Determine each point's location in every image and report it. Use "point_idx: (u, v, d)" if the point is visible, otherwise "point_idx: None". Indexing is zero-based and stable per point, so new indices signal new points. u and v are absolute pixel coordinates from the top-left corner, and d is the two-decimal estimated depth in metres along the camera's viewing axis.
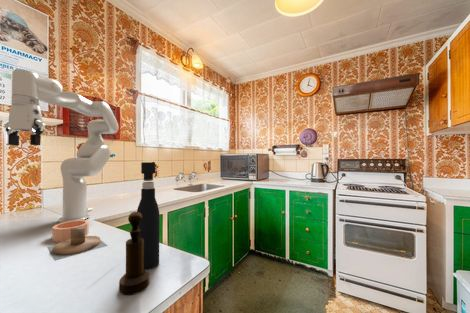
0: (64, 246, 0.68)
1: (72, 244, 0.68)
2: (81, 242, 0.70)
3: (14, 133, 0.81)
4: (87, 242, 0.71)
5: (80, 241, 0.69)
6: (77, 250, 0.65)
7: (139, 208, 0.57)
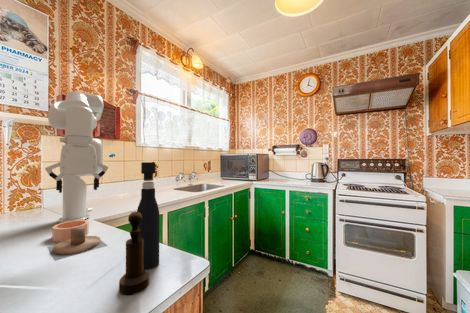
0: (64, 246, 0.68)
1: (72, 244, 0.68)
2: (81, 242, 0.70)
3: None
4: (87, 242, 0.71)
5: (80, 241, 0.69)
6: (77, 250, 0.65)
7: (139, 208, 0.57)
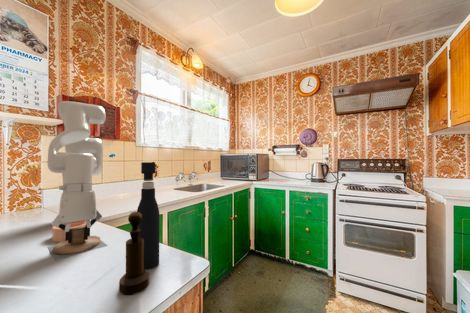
0: (64, 245, 0.68)
1: (72, 244, 0.68)
2: (81, 242, 0.70)
3: (87, 224, 0.72)
4: (87, 242, 0.71)
5: (80, 241, 0.69)
6: (77, 250, 0.65)
7: (139, 208, 0.57)
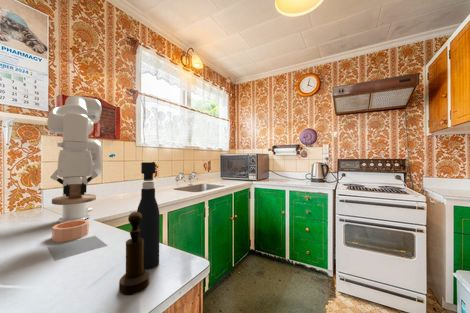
0: (62, 198, 0.73)
1: (70, 197, 0.74)
2: (78, 196, 0.75)
3: None
4: (83, 197, 0.76)
5: (77, 195, 0.75)
6: (74, 201, 0.71)
7: (139, 208, 0.57)
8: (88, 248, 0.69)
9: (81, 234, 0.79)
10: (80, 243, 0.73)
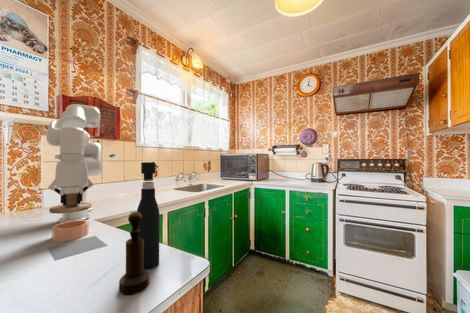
0: (59, 207, 0.78)
1: (66, 206, 0.78)
2: (74, 205, 0.79)
3: None
4: (79, 206, 0.80)
5: (73, 204, 0.79)
6: (70, 210, 0.75)
7: (139, 208, 0.57)
8: (88, 248, 0.69)
9: (81, 234, 0.79)
10: (80, 243, 0.73)
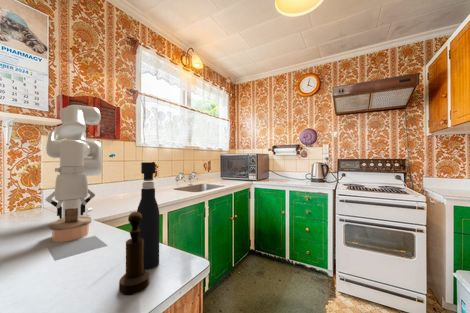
0: (59, 223, 0.78)
1: (66, 222, 0.78)
2: (74, 220, 0.80)
3: None
4: (79, 221, 0.81)
5: (73, 219, 0.79)
6: (70, 226, 0.75)
7: (139, 208, 0.57)
8: (88, 248, 0.69)
9: (81, 234, 0.79)
10: (80, 243, 0.73)
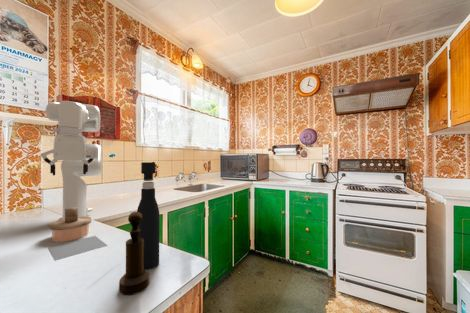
0: (59, 223, 0.78)
1: (66, 222, 0.78)
2: (74, 220, 0.80)
3: None
4: (79, 221, 0.81)
5: (73, 219, 0.79)
6: (70, 226, 0.75)
7: (139, 208, 0.57)
8: (88, 248, 0.69)
9: (81, 234, 0.79)
10: (80, 243, 0.73)
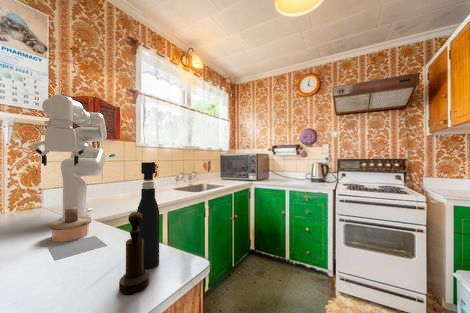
0: (59, 223, 0.78)
1: (66, 222, 0.78)
2: (74, 220, 0.80)
3: None
4: (79, 221, 0.81)
5: (73, 219, 0.79)
6: (70, 226, 0.75)
7: (139, 208, 0.57)
8: (88, 248, 0.69)
9: (81, 234, 0.79)
10: (80, 243, 0.73)
